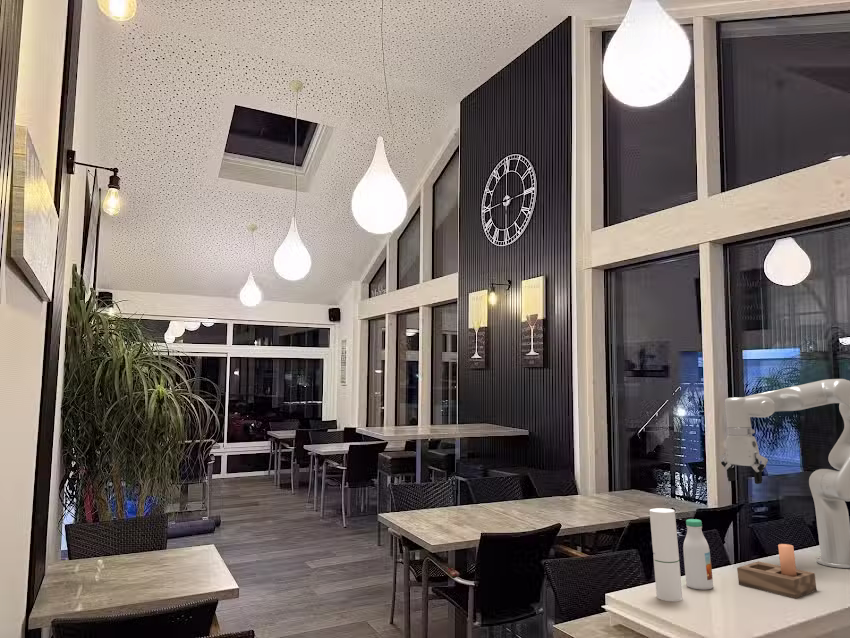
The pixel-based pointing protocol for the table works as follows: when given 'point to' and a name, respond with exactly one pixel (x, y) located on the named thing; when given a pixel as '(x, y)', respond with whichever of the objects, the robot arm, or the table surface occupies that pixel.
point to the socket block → (776, 579)
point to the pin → (787, 560)
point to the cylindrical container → (665, 554)
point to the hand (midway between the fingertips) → (744, 482)
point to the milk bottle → (697, 557)
